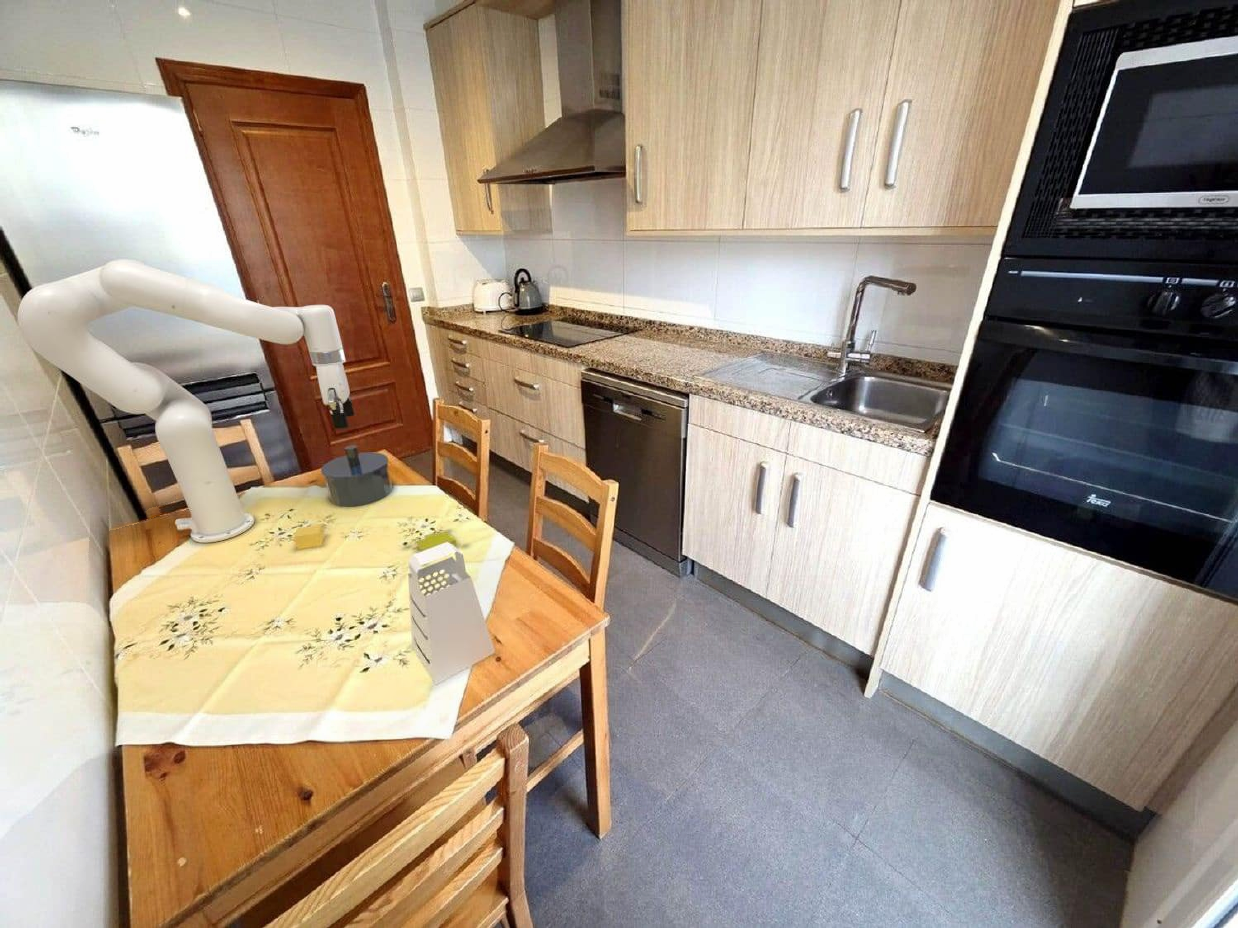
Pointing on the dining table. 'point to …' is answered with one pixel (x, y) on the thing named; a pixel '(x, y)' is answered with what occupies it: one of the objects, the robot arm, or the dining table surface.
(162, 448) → the robot arm
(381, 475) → the pot
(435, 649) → the grater
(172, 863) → the dining table surface
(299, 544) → the cheese
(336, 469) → the lid
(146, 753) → the dining table surface
